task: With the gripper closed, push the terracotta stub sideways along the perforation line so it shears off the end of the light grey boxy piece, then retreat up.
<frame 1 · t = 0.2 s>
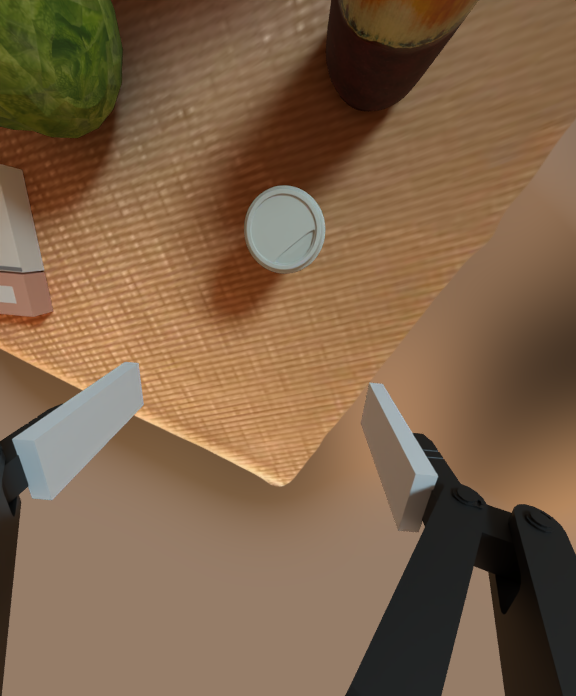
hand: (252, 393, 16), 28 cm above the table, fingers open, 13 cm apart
coffee cup: (287, 234, 39), on the table
stub: (5, 291, 41), point 2 cm above the table, slide at 0.0 cm
light grey boxy piece: (1, 231, 40), on the table
vase: (370, 64, 32), on the table
lettuce: (56, 58, 33), on the table
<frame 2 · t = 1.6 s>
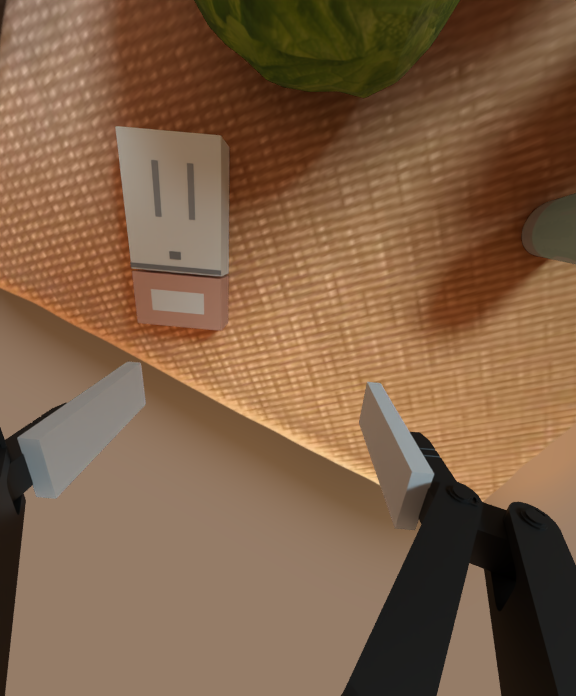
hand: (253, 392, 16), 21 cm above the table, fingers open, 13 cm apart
coffee cup: (547, 229, 31), on the table
stub: (183, 299, 33), point 2 cm above the table, slide at 0.0 cm
light grey boxy piece: (186, 225, 32), on the table
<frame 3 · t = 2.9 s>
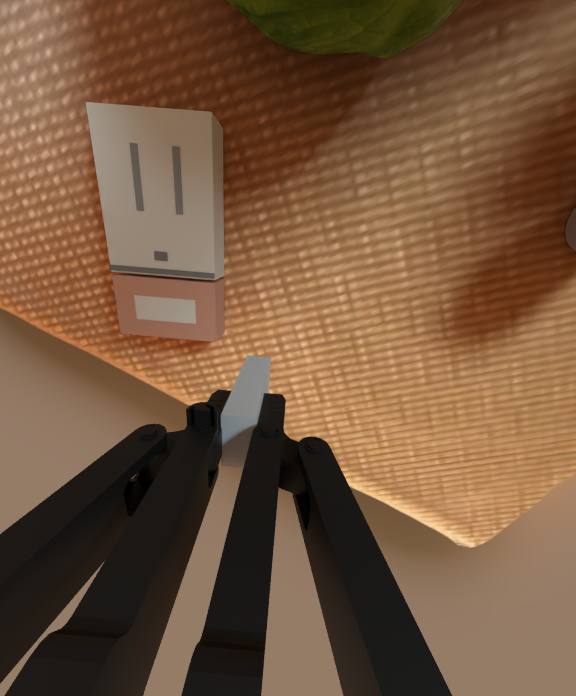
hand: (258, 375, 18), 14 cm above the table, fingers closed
stub: (173, 305, 29), point 2 cm above the table, slide at 0.0 cm
light grey boxy piece: (174, 221, 28), on the table
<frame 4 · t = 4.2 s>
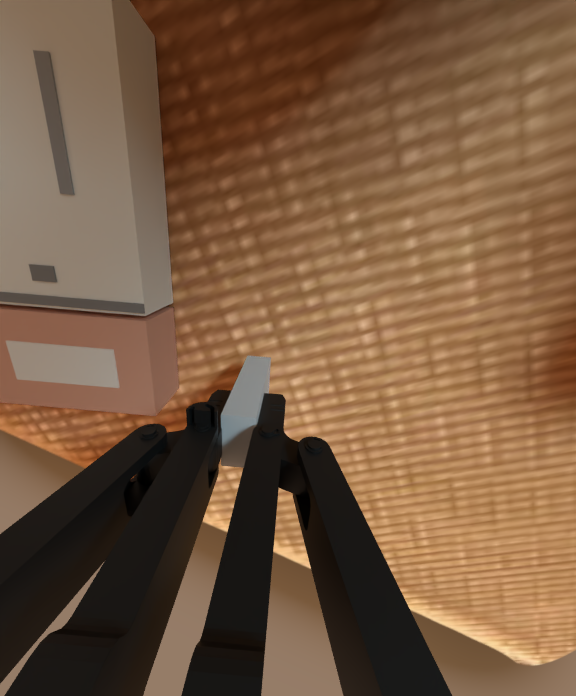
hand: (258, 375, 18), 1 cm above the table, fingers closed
stub: (86, 353, 17), point 2 cm above the table, slide at 0.0 cm
light grey boxy piece: (82, 211, 16), on the table
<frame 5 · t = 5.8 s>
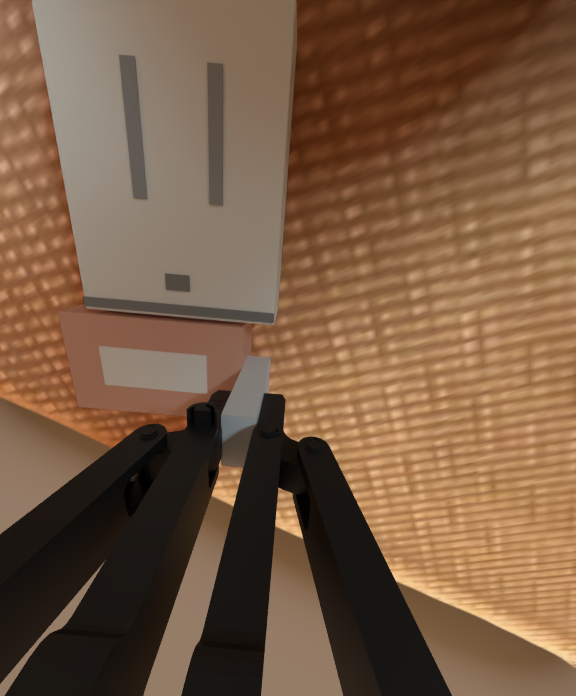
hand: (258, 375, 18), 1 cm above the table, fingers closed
stub: (168, 358, 17), point 2 cm above the table, slide at 1.6 cm, touching gripper
light grey boxy piece: (199, 219, 16), on the table
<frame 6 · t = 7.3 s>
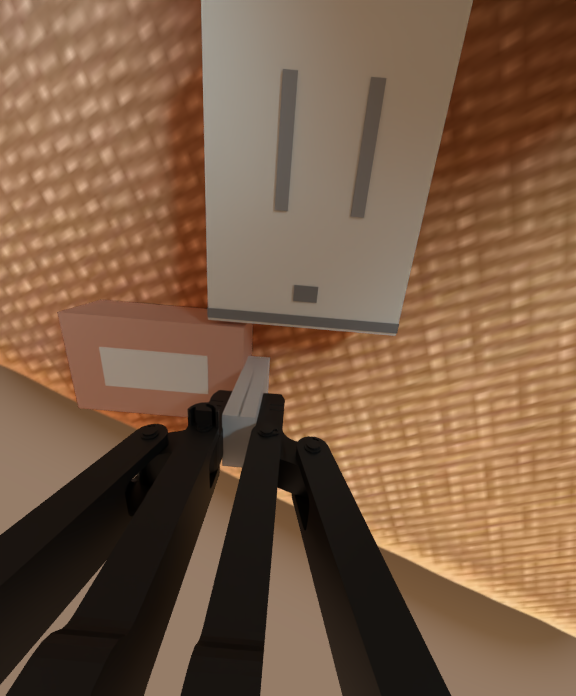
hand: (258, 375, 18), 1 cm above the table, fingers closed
stub: (168, 359, 17), point 2 cm above the table, slide at 8.1 cm, touching gripper
light grey boxy piece: (309, 228, 16), on the table
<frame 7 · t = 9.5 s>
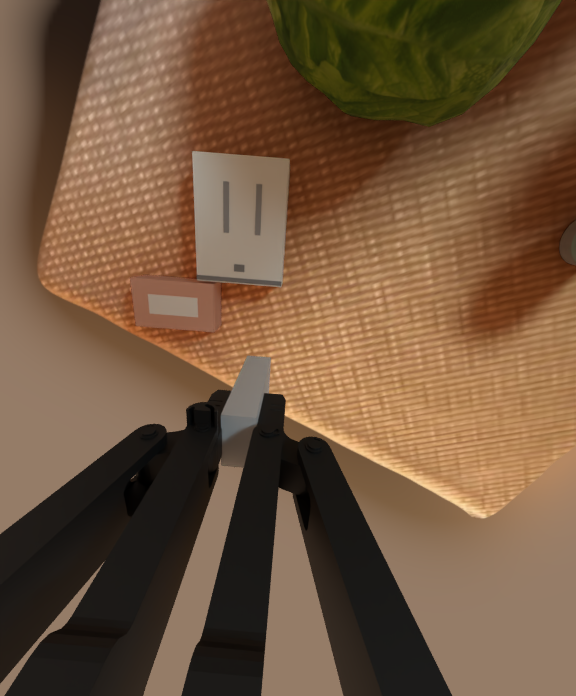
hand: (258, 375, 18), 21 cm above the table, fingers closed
stub: (178, 303, 36), point 2 cm above the table, slide at 8.1 cm
light grey boxy piece: (245, 239, 34), on the table
lettuce: (369, 34, 28), on the table
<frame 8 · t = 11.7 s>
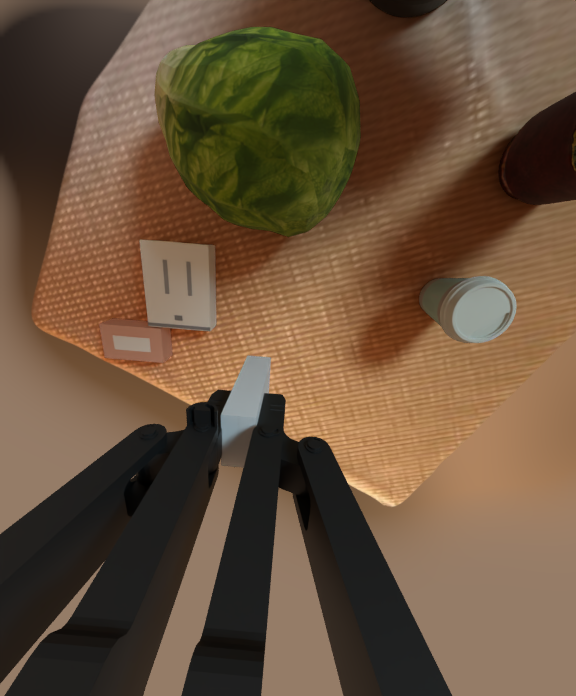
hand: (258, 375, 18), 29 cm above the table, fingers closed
coffee cup: (436, 296, 45), on the table
stub: (137, 340, 47), point 2 cm above the table, slide at 8.1 cm
light grey boxy piece: (185, 293, 46), on the table
vase: (531, 163, 38), on the table
lettuce: (263, 158, 39), on the table
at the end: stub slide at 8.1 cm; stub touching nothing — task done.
